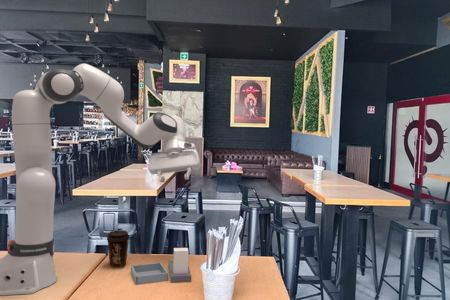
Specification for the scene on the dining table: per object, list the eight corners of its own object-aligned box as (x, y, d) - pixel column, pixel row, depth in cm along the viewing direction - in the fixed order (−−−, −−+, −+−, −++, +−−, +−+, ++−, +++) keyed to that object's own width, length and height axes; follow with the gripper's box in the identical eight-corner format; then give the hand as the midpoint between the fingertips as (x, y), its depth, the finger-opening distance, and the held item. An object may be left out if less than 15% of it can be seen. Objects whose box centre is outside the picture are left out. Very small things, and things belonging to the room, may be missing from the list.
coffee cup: (106, 262, 139) (107, 229, 138) (128, 261, 141) (129, 229, 141) (106, 270, 130) (107, 236, 130) (129, 269, 133) (130, 234, 133)
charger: (173, 280, 124) (174, 251, 123) (172, 276, 127) (173, 248, 127) (187, 279, 125) (188, 250, 124) (186, 275, 128) (187, 247, 128)
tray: (136, 285, 119) (136, 276, 118) (130, 273, 129) (131, 265, 128) (168, 281, 123) (168, 272, 123) (160, 270, 133) (160, 262, 133)
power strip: (191, 282, 123) (191, 273, 123) (170, 283, 121) (171, 274, 121) (186, 266, 138) (186, 258, 138) (168, 266, 137) (168, 258, 137)
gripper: (147, 149, 140) (145, 179, 132) (198, 143, 140) (199, 172, 131) (151, 158, 145) (149, 187, 137) (200, 152, 145) (201, 181, 137)
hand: (174, 180), depth 134 cm, fingers open, 8 cm apart
